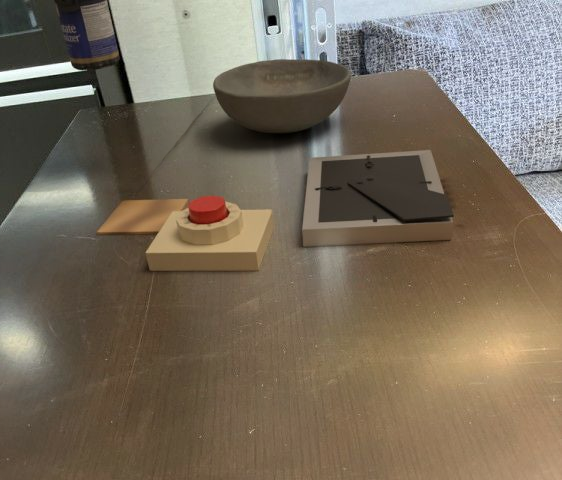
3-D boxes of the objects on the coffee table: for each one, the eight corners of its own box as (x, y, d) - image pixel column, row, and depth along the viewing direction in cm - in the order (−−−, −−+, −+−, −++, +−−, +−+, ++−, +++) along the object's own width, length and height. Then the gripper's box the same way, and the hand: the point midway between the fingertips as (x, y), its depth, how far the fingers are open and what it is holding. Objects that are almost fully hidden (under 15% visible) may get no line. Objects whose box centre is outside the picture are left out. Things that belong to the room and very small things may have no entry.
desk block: (149, 271, 67) (141, 237, 64) (176, 228, 74) (169, 196, 72) (258, 270, 65) (254, 235, 62) (274, 226, 72) (271, 193, 70)
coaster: (97, 235, 75) (96, 232, 75) (123, 203, 82) (122, 200, 82) (168, 234, 73) (167, 231, 73) (188, 201, 80) (188, 198, 80)
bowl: (228, 112, 108) (221, 62, 103) (348, 101, 107) (347, 50, 102) (213, 156, 92) (204, 99, 87) (355, 145, 90) (354, 86, 85)
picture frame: (451, 240, 66) (429, 165, 82) (453, 215, 64) (431, 144, 80) (303, 247, 68) (310, 173, 84) (301, 223, 66) (308, 152, 82)
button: (186, 227, 66) (183, 211, 65) (196, 210, 69) (193, 195, 68) (222, 226, 65) (220, 211, 64) (231, 210, 68) (228, 195, 67)
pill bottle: (64, 67, 80) (35, -35, 73) (106, 56, 83) (82, -43, 76) (86, 73, 76) (58, -34, 69) (129, 62, 79) (106, -42, 72)
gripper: (32, -173, 71) (76, -2, 81) (-35, -178, 60) (26, 20, 70) (94, -181, 69) (130, -7, 80) (38, -188, 59) (88, 15, 69)
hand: (81, 5), depth 75 cm, fingers closed on pill bottle, 6 cm apart
